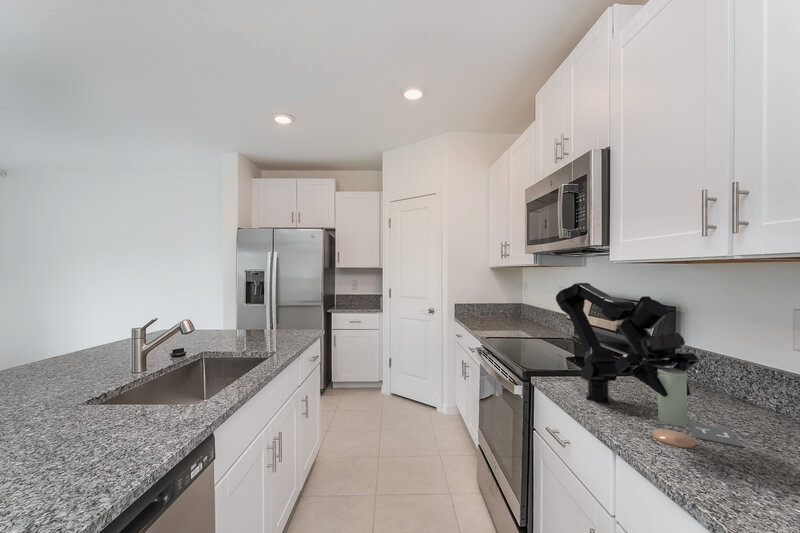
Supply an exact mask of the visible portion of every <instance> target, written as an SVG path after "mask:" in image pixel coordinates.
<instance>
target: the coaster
mask: <svg viewBox="0 0 800 533" xmlns="http://www.w3.org/2000/svg"><path fill="white" fill-rule="evenodd" d="M652 436H653V438H654V439H656V440H657V441H659V442H661V443H663V444H665V445H668V446H672V447H676V448H682V449H690V448H691V449H692V448H695V447H696V446H697V445H696V444H697V442H696V440H695V439H694V437H691V436H690V435H687V434H685V433H683V432H680V431H676V430H672V429H666V428H665V429H664V428H657V429H653V431H652Z"/></svg>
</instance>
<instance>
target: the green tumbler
mask: <svg viewBox="0 0 800 533" xmlns="http://www.w3.org/2000/svg"><path fill="white" fill-rule="evenodd" d="M656 369H657V377H658V378H659V380H660V382H661V383H662V385H663V386H664V388H665V390H666V392H667V394H668V395H667V396H666V397H663V396H662V395H661V394H659V393H658V392H657V414H658V415H657V416H658V420H659V421H660V422H662V423H664V424H668V425H669V426H670V425H671V426H676V427H685V426H687V425H688V396H687V383H688V379H687V376H688V373H687V371H682V370H679V369H674V368H665V367H658V368H656Z"/></svg>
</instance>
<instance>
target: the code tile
mask: <svg viewBox="0 0 800 533" xmlns="http://www.w3.org/2000/svg"><path fill="white" fill-rule="evenodd" d="M688 425H689V427H690V429H691V431H692V433H693V435H694V438H695V439H697V440H702V441H703V440H704V441H707V442H713V443H717V444H722V445H726V446H727V445H728V446H733V447H737V448H743V445H742V444H741V443H740V441H739V440H738V438H737V437H736V436H735V434H734V433H733V431H732V430H731V429H730V428H726V427H720V426H716V425H715V426H713V425H709V424H703V423H698V422H694V421H693V422H692V421H688Z"/></svg>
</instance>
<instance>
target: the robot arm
mask: <svg viewBox="0 0 800 533" xmlns="http://www.w3.org/2000/svg"><path fill="white" fill-rule="evenodd" d="M555 301H556V303H557V305H558V307H559V308H560V310H561V311H563V312H564V313H565V314H567V315H568V317H569V320H570V321H571V323H572V326H573V327H574V329H575V332H576V334H577V337H578V338H579V340H580V342H581V345H582V347H583V350H584V351H585V355H584V359H583V361H584V366H583V367H582V368H581V369H580V370H579V371H580V372H579V373H580V378H581V379H584V380H585V381H587V393H586V397H585V400H587V401H593V402H599V403H603V404H611V399H612V398H611V395H610V391H609V390H610V388H609V387H610V385H609V384H610V383H609V382H616V380H617V377H618V375H629V374H630V376H631V377H632V378H633V377H634V378H636V379H637V380H639V381H640V382H642V383H643V384H645V385H647V386H648V387H649V388H651V389H653V391H655V392H657V394H658V393H659V394H661V395H662V396H663V397H666V396H667V395H668V394H667V392H666V390H665V388H664V386H663V385H662V383H661V382H660V380H659V378H658V374H657V373H656V371H655V368H656V367H663V368H674V369H679V370H682V371H685V372H687V371H689V369H690V368H692V367H693V366H695V365H696V364H697V363H698V362H700V360H699V358H698V357H697V356H696V354H695V353H693V352H689V351H681V352H680V351H679V352H676V353H674V354H673V355H672V356H671V357H667V356H669V355H670V354H672V352H671V351H672V350H676V349H678V350H679V349H682V346H684V345H686V344H685V339H684V337H683V336H682V335H681V334H680V333H679V332H671V333H667V334H662V335H661V334H660V335H652V334H651V332H650V331H649V330H652V329H654V328H655V327H656V326H657V325H658V324H659V323H660V322H661V321H663V319H664V318H665V317H666V316H667V315H668V313H669V311H668V309H667V307H666V306H665V305H664V304H662V303H661V302H659V301H657V300H656V299H655V300H654V299H652V297H651V296H649V295H647V296H641V298H640V299H639V300H638V302H637V303H635V302H633V301H632V300H629V299H626V298H625V299H624V298H619V297H613V296H611V295H610V294H607V293H606V292H604V291H602V290H600V289H598V288H596V287H594V286H593V285H592V284H591V283H589V282H576V283H573V284H572V285H570V286H568V287H567V288H566V287H565V288H564V289H561V290H560V291H558V293H557V294H556V296H555ZM585 301H588V302H589V303H591V304H593V305H595V306H596V307H598V308H599V309H600V310H601V311H600V312H601V314H602V316H604V317H605V318H606V319H607V320H609V321H610V322H611V321H612V322H620V321H622V322H621V323H620V324H616V328H615V331H614V333H615V335H622V336H623V337H624V339H625V340H626V342H627V344H628V345H629V346H628V347H627V350H628V352H631V353H624V354H622V356H620V358H619V359H618V360H617V358H616V357H615V355H614V352H613V351H612V350H611V349H605V348H603V346H602V345H601V342H600V341H599V339H598V337H597V334H596V333H595V331H594V329H593V327H592V324H591V323H590V320H589V319H588V317H587V315H586V313H585V311H584V307H585V304H586V302H585ZM631 371H632V372H631ZM689 396H691V391H690V387H689V383H688V382H687V397H689Z"/></svg>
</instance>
